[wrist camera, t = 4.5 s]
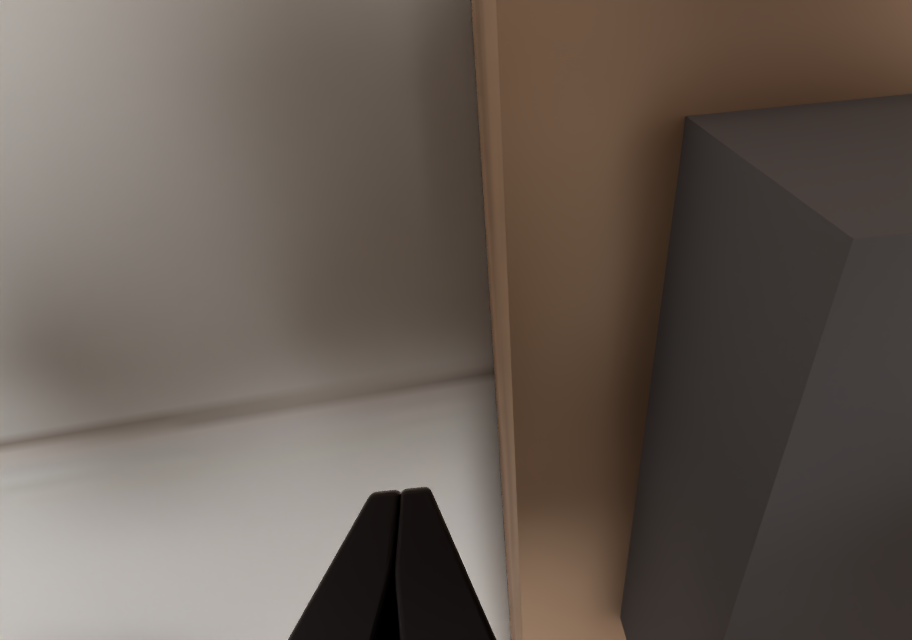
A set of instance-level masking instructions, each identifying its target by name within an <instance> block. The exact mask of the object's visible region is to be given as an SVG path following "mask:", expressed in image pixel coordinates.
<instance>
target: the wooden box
mask: <svg viewBox="0 0 912 640" xmlns="http://www.w3.org/2000/svg"><path fill="white" fill-rule="evenodd" d="M471 7H472V23H473V39H474V55H475V71H476V87H477V103H478V119H479V135H480V151H481V167H482V183H483V199H484V215H485V231H486V247H487V263H488V279H489V295H490V311H491V327H492V343H493V359H494V375H495V391H496V407H497V423H498V438H499V454H500V470H501V486H502V502H503V518H504V534H505V550H506V566H507V582H508V598H509V614H510V630H511V640H626V636H625V633H624V629H623V626H622V622H621V619H620V614H621V606H622V599H623V591H624V584H625V576H626V568H627V561H628V553H629V545H630V538H631V530H632V522H633V515H634V507H635V499H636V492H637V484H638V477H639V469H640V461H641V454H642V446H643V438H644V431H645V423H646V415H647V408H648V400H649V393H650V385H651V377H652V370H653V362H654V354H655V347H656V339H657V331H658V324H659V316H660V308H661V301H662V293H663V286H664V278H665V270H666V263H667V255H668V247H669V240H670V232H671V224H672V217H673V209H674V201H675V194H676V186H677V179H678V171H679V163H680V156H681V148H682V140H683V133H684V125H685V117H686V116H691V115H702V114H712V113H722V112H732V111H742V110H752V109H762V108H772V107H782V106H792V105H802V104H812V103H822V102H833V101H843V100H853V99H863V98H873V97H883V96H893V95H903V94H912V0H471Z"/></svg>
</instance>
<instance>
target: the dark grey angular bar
mask: <svg viewBox="0 0 912 640" xmlns="http://www.w3.org/2000/svg"><path fill="white" fill-rule="evenodd" d="M620 619H621V622H622V626H623V629H624V633H625V636H626V640H912V94H903V95H893V96H883V97H873V98H863V99H853V100H843V101H833V102H822V103H812V104H802V105H792V106H782V107H772V108H762V109H752V110H742V111H732V112H722V113H712V114H702V115H691V116H686V117H685V125H684V133H683V140H682V148H681V156H680V163H679V171H678V179H677V186H676V194H675V201H674V209H673V217H672V224H671V232H670V240H669V247H668V255H667V263H666V270H665V278H664V286H663V293H662V301H661V308H660V316H659V324H658V331H657V339H656V347H655V354H654V362H653V370H652V377H651V385H650V393H649V400H648V408H647V415H646V423H645V431H644V438H643V446H642V454H641V461H640V469H639V477H638V484H637V492H636V499H635V507H634V515H633V522H632V530H631V538H630V545H629V553H628V561H627V568H626V576H625V584H624V591H623V599H622V606H621V614H620Z"/></svg>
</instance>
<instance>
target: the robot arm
mask: <svg viewBox="0 0 912 640" xmlns="http://www.w3.org/2000/svg"><path fill="white" fill-rule="evenodd" d="M288 640H496V638H495V636H494V634H493V631H492V629H491V627H490V625H489V622H488V620H487V618H486V615H485V613H484V611H483V608H482V606H481V604H480V602H479V599H478V597H477V595H476V592H475V590H474V588H473V585H472V583H471V581H470V579H469V576H468V574H467V572H466V569H465V567H464V565H463V563H462V560H461V558H460V556H459V553H458V551H457V549H456V546H455V544H454V542H453V540H452V537H451V535H450V533H449V530H448V528H447V526H446V524H445V521H444V519H443V517H442V514H441V512H440V510H439V507H438V505H437V503H436V501H435V498H434V496H433V494H432V492H431V490H430V489H429V488H427V487H421V488H410V489H405V490H403V491H402V493H400V491H398V490H390V491H380V492H374V493H372V494H371V495H370V496H369V498H368V499H367V501H366V503H365V504H364V506H363V508H362V510H361V512H360V513H359V515H358V517H357V519H356V520H355V522H354V524H353V526H352V527H351V529H350V531H349V533H348V535H347V536H346V538H345V540H344V542H343V543H342V545H341V547H340V549H339V550H338V552H337V554H336V556H335V557H334V559H333V561H332V563H331V565H330V566H329V568H328V570H327V572H326V573H325V575H324V577H323V579H322V580H321V582H320V584H319V586H318V588H317V589H316V591H315V593H314V595H313V596H312V598H311V600H310V602H309V603H308V605H307V607H306V609H305V610H304V612H303V614H302V616H301V618H300V619H299V621H298V623H297V625H296V626H295V628H294V630H293V632H292V633H291V635H290V637H289V639H288Z"/></svg>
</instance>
